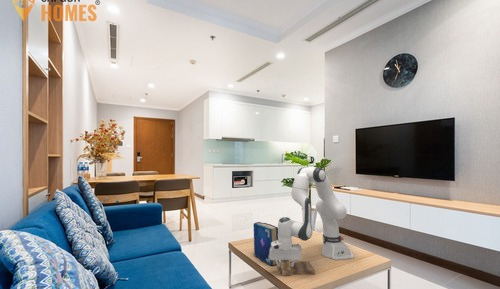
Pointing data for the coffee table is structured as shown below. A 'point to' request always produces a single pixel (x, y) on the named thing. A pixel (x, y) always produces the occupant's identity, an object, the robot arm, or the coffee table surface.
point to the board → (299, 268)
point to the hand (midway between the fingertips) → (285, 266)
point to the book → (264, 241)
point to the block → (285, 268)
